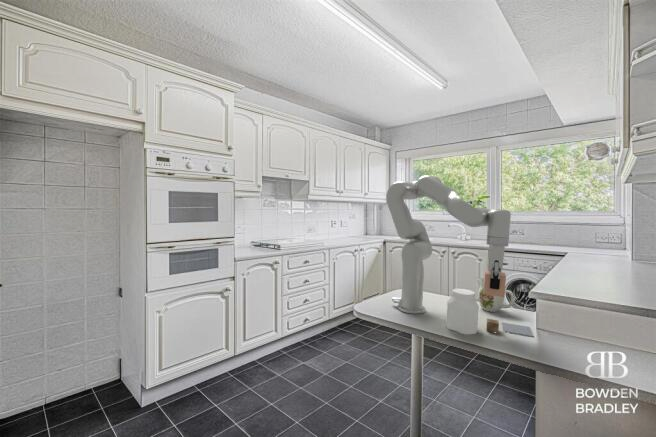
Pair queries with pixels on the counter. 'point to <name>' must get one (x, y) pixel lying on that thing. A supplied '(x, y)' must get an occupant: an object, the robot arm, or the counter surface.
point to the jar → (462, 312)
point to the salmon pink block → (494, 292)
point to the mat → (517, 329)
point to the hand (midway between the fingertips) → (494, 286)
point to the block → (492, 325)
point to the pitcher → (492, 299)
